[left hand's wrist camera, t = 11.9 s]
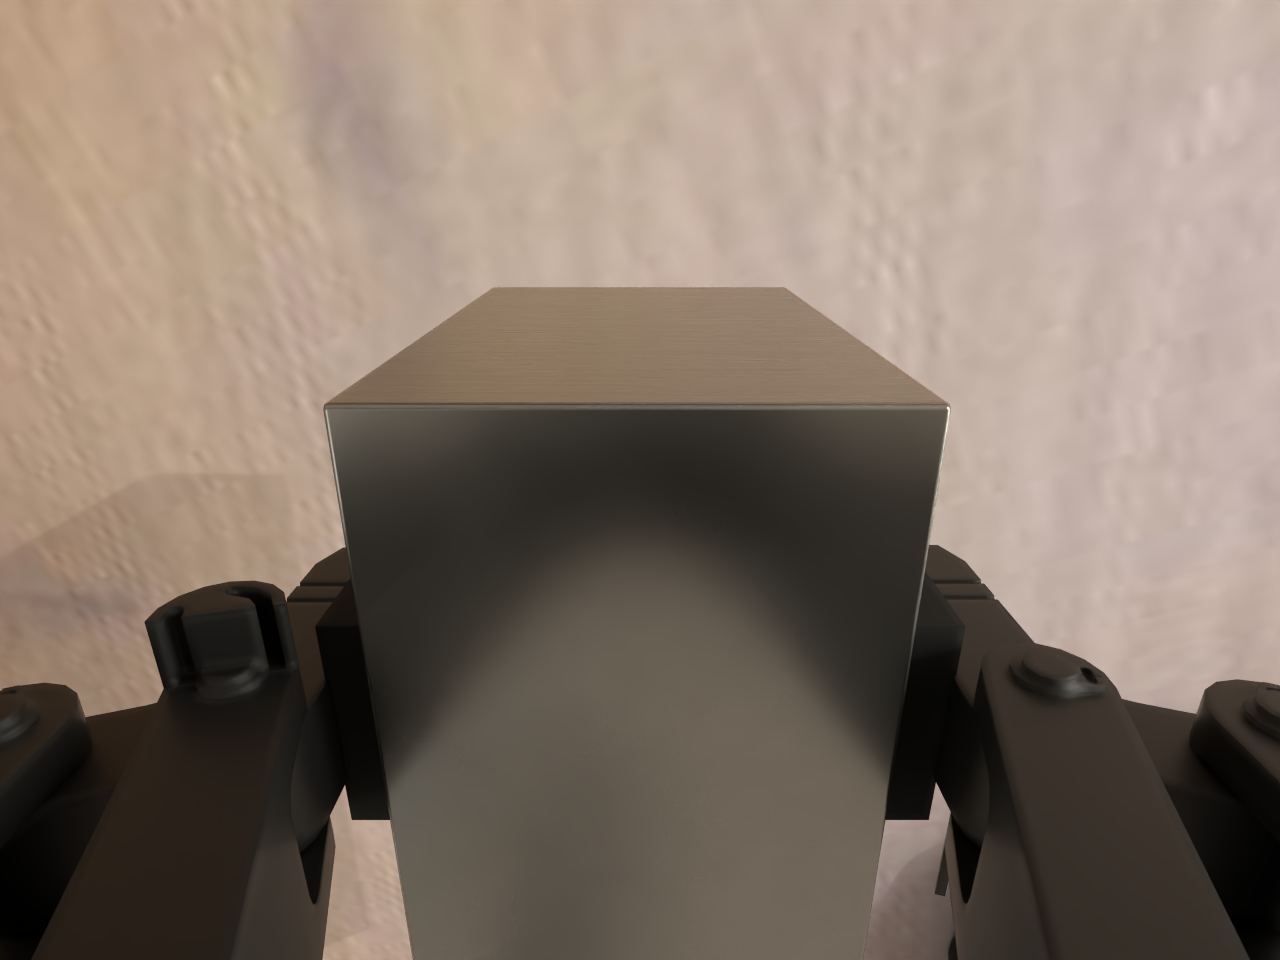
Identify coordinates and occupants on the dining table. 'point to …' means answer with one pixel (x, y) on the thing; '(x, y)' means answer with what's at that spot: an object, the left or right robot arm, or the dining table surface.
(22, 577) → the dining table surface
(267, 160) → the dining table surface
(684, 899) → the bar
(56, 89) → the dining table surface
